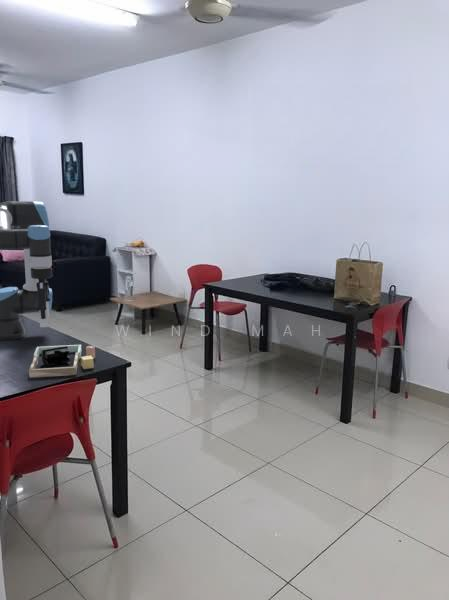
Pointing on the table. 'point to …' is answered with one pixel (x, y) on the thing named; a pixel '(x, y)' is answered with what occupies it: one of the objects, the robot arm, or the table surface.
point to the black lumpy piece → (55, 357)
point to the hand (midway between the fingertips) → (44, 322)
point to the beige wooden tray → (52, 369)
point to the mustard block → (87, 362)
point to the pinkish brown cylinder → (90, 351)
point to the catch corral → (70, 347)
